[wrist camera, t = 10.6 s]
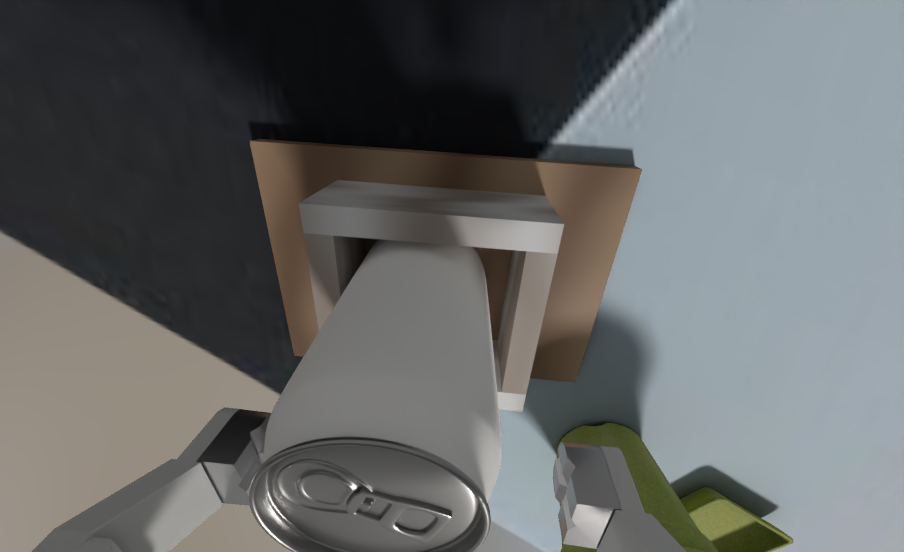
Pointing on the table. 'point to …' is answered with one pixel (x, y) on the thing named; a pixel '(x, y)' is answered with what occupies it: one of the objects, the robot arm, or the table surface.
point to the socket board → (452, 238)
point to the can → (389, 414)
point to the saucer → (732, 524)
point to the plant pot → (643, 485)
